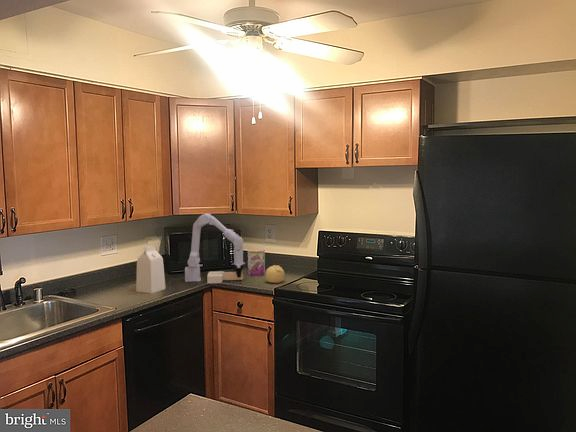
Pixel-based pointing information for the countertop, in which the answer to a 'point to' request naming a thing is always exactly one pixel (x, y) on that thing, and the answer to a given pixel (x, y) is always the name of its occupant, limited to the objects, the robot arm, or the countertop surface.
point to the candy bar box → (256, 262)
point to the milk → (150, 271)
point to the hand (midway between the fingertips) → (239, 277)
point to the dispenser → (214, 277)
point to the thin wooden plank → (231, 276)
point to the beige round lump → (274, 274)
